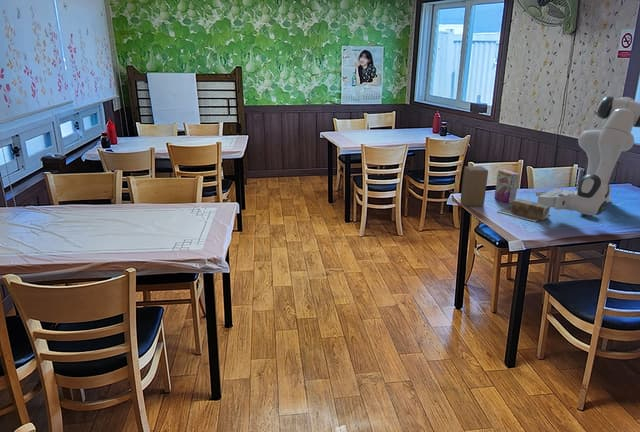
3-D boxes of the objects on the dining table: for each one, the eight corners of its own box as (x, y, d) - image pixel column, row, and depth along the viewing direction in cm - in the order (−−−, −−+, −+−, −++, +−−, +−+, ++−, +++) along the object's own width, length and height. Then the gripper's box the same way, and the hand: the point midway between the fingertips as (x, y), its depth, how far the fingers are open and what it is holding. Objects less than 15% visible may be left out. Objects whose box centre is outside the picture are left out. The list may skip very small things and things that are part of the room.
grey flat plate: (550, 215, 229) (550, 214, 229) (535, 222, 220) (535, 221, 219) (512, 205, 244) (512, 204, 243) (496, 212, 234) (497, 211, 234)
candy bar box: (493, 198, 256) (497, 169, 251) (500, 197, 258) (504, 169, 252) (508, 204, 246) (512, 174, 241) (515, 203, 248) (519, 173, 243)
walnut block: (550, 205, 223) (518, 198, 235) (544, 208, 220) (513, 200, 231) (547, 217, 225) (516, 209, 237) (542, 219, 222) (511, 211, 233)
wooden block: (477, 201, 251) (482, 165, 244) (484, 206, 242) (489, 170, 235) (459, 201, 251) (463, 165, 244) (465, 206, 241) (470, 170, 235)
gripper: (576, 189, 219) (547, 183, 229) (558, 197, 207) (528, 190, 217) (573, 201, 222) (545, 195, 231) (555, 210, 209) (526, 203, 219)
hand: (537, 193), depth 224 cm, fingers closed
